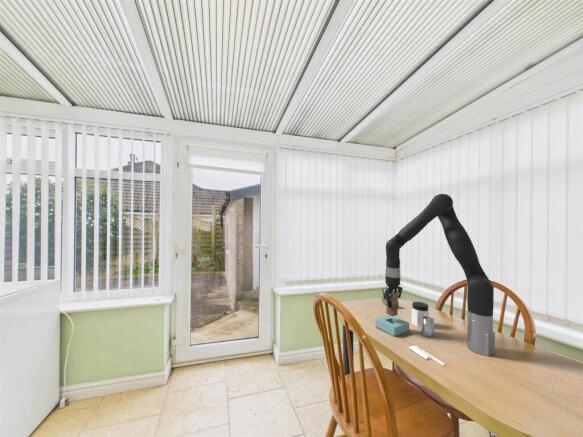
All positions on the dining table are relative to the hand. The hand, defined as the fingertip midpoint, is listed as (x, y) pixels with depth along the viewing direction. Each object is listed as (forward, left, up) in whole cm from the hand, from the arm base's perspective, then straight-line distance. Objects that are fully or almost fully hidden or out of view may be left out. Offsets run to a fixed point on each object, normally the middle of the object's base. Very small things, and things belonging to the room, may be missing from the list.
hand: (392, 306), depth 129 cm
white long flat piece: (-25, +10, -13) cm, 30 cm away
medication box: (+27, -31, -13) cm, 43 cm away
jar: (-3, -20, -13) cm, 24 cm away
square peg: (0, 0, -4) cm, 4 cm away
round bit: (-13, -11, -13) cm, 21 cm away
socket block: (0, 0, -13) cm, 13 cm away
